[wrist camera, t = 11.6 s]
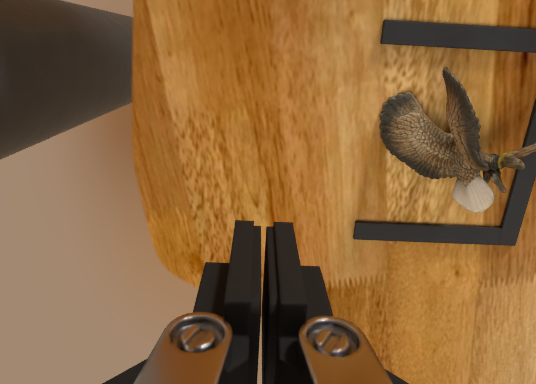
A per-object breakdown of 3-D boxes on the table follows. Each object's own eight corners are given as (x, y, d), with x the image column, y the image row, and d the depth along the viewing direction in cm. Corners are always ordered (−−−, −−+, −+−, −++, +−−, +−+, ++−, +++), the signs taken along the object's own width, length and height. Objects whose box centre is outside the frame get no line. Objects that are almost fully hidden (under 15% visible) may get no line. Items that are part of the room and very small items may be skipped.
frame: (353, 237, 33) (353, 239, 32) (383, 20, 27) (384, 19, 27) (513, 244, 33) (515, 245, 33) (575, 31, 28) (579, 31, 27)
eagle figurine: (536, 101, 28) (446, 37, 25) (571, 181, 24) (468, 116, 21) (447, 158, 34) (364, 112, 30) (462, 231, 29) (368, 186, 26)
